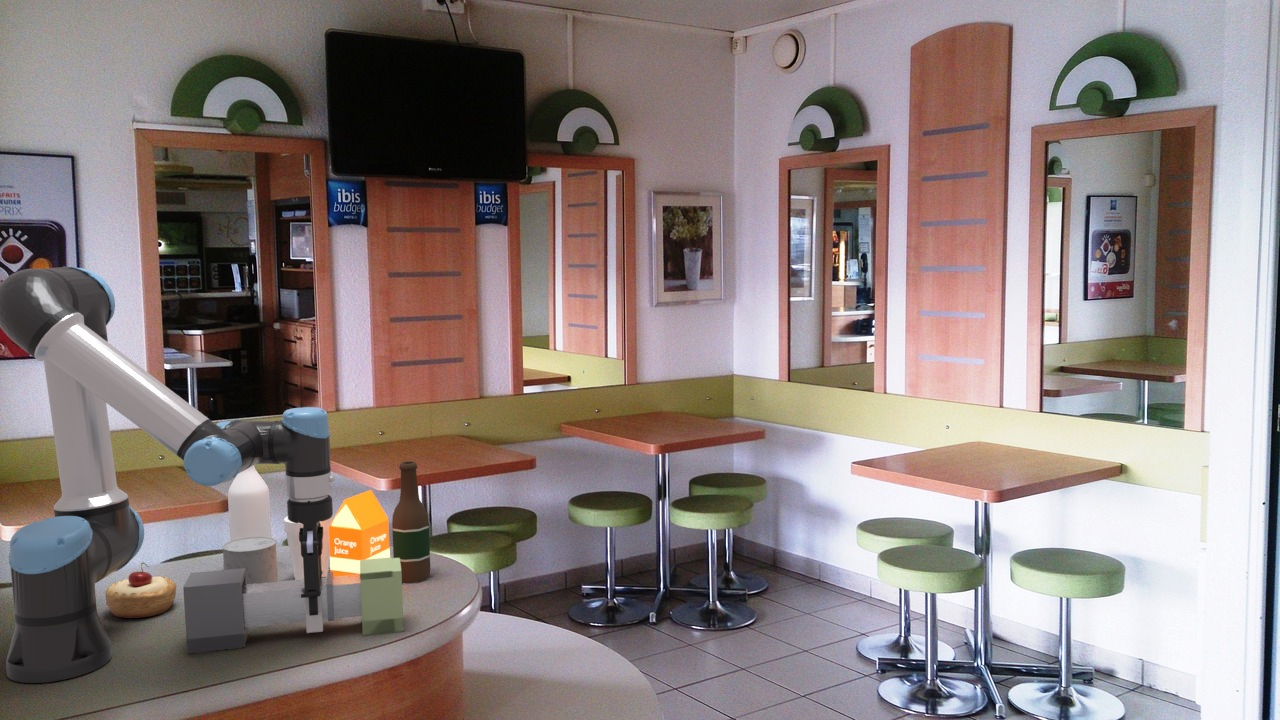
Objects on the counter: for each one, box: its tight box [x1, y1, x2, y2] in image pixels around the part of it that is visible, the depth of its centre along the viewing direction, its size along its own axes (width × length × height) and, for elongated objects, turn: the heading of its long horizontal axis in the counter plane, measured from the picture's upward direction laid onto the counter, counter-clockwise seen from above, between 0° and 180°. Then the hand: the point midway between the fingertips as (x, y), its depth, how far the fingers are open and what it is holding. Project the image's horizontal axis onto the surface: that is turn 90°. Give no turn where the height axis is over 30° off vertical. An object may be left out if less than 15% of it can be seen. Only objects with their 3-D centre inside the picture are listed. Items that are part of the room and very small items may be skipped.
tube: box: [242, 571, 362, 628], centre depth 183 cm, size 25×7×7 cm, turn 105°
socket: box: [360, 556, 405, 636], centre depth 187 cm, size 7×8×11 cm
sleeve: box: [182, 568, 250, 655], centre depth 180 cm, size 9×8×12 cm
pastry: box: [104, 561, 177, 619], centre depth 196 cm, size 12×12×9 cm
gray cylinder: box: [221, 537, 279, 584], centre depth 197 cm, size 10×10×12 cm
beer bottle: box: [391, 460, 431, 584], centre depth 213 cm, size 8×8×24 cm
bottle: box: [227, 465, 273, 542], centre depth 217 cm, size 8×8×30 cm
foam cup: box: [283, 515, 334, 580], centre depth 213 cm, size 10×9×13 cm
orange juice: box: [329, 489, 391, 577], centre depth 203 cm, size 8×9×20 cm
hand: (315, 625), depth 185 cm, fingers closed on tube, 5 cm apart
